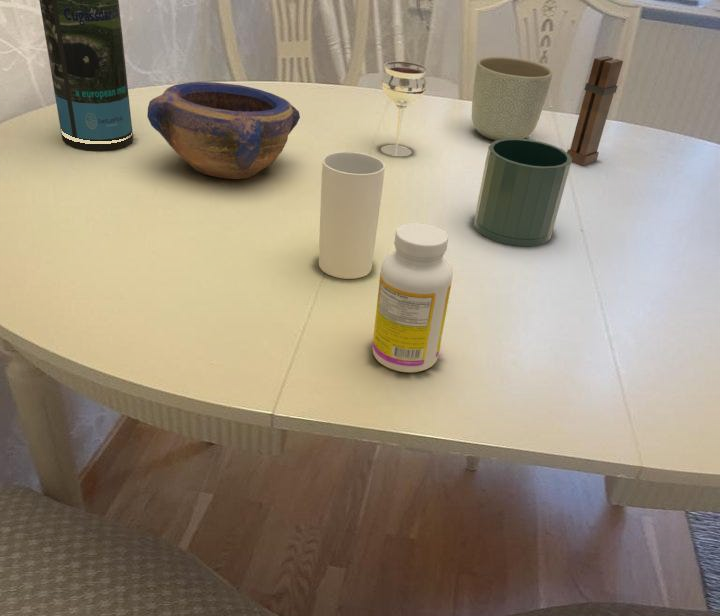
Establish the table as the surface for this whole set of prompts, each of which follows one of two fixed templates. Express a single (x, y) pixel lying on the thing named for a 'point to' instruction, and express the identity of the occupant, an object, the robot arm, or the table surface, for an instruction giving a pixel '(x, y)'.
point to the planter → (508, 96)
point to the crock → (521, 191)
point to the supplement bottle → (412, 299)
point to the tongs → (595, 109)
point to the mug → (349, 213)
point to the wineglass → (402, 94)
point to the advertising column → (88, 71)
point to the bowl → (223, 126)
